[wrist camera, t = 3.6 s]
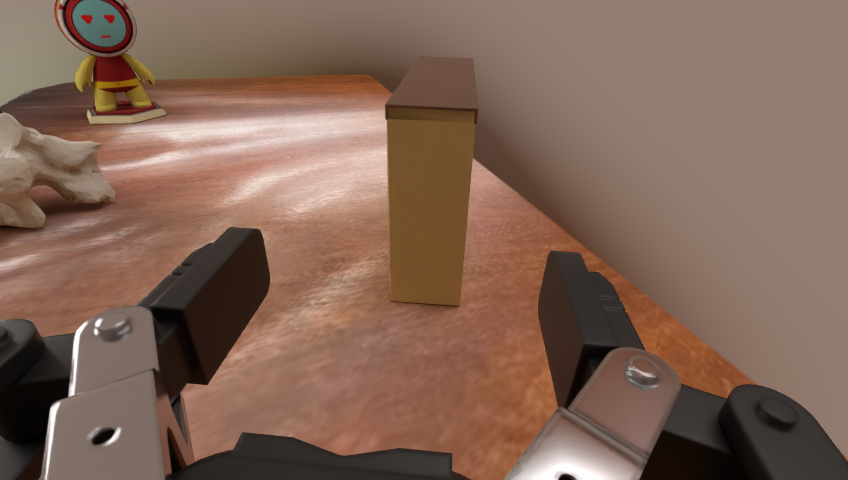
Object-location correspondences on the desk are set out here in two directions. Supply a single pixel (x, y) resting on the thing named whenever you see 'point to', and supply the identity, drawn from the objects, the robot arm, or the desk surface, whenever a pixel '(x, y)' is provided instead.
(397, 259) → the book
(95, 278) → the desk surface
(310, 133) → the desk surface
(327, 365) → the desk surface
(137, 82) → the figurine
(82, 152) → the decorative object
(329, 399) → the desk surface
